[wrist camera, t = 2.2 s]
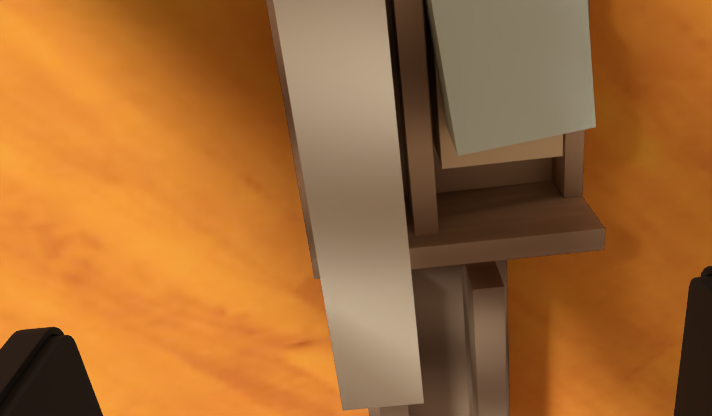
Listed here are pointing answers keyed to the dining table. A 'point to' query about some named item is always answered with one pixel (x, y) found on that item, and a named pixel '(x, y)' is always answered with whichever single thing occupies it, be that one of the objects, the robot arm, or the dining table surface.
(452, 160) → the offcut lower
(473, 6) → the offcut upper
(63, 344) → the robot arm
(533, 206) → the tray
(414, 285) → the stand
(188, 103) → the dining table surface
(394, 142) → the birch sheet
